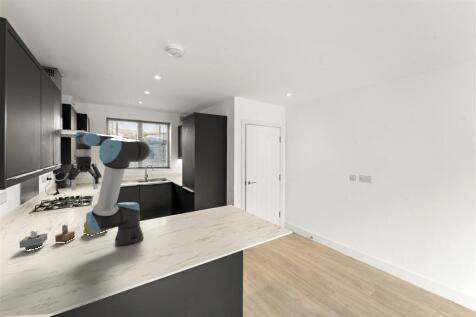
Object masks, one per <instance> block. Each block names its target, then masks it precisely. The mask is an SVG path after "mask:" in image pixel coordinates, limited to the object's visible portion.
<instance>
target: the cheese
mask: <svg viewBox="0 0 476 317" xmlns="http://www.w3.org/2000/svg"><path fill="white" fill-rule="evenodd" d="M83 228H84V229H83V234H84V233H86V234H89V235H94V234H97V233H100V232H97V233H92V232H91V231H90V230H89V228H88V225H87V221H85V222H84V224H83ZM105 231H106V230H105ZM101 232H103V231H101Z"/></svg>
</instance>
